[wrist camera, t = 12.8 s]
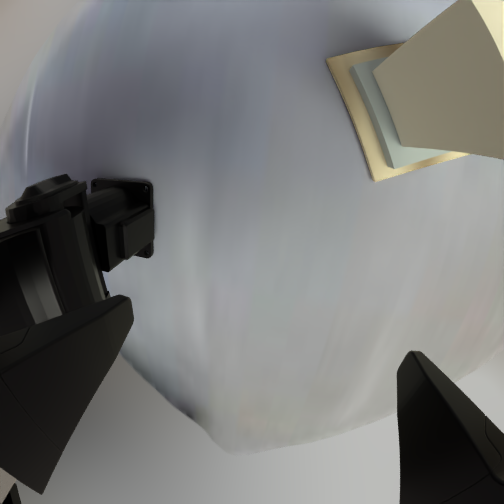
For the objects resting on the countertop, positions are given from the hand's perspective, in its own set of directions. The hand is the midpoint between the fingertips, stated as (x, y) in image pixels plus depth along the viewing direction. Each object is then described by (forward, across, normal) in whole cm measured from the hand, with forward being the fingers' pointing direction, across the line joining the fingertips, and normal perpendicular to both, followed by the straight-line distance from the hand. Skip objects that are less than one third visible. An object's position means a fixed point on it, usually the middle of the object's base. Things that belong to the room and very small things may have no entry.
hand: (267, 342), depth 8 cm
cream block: (+11, -7, -10) cm, 16 cm away
